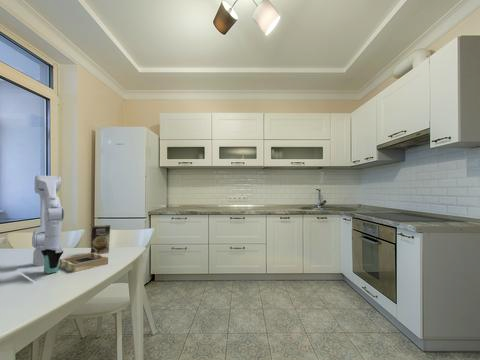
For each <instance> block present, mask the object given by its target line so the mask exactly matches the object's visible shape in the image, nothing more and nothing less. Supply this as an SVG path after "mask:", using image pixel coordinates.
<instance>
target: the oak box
mask: <svg viewBox="0 0 480 360" xmlns="http://www.w3.org/2000/svg"><path fill="white" fill-rule="evenodd" d="M89 256H90V257H93V258H95V259H97V260H92V261H88V262H83V263H79V264H73V263H70V260H75V259H80V258H85V257H89ZM107 265H109V257H108V256H106V255H103V254H96V253H91V252H90V253H83V254H81V255H75V256H69V257H65V258H60V259H59V268H61V269H64V270H66V271H69V272H71V273H74V274H75V273H77V272H81V271H86V270H89V269H94V268H98V267H102V266H107Z"/></svg>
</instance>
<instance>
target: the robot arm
mask: <svg viewBox="0 0 480 360" xmlns="http://www.w3.org/2000/svg"><path fill="white" fill-rule="evenodd" d="M61 184H62V178H61V176H60V175H39V174H37V175H36V176H35V177H34V193H35V194H37V195H39V198H40V208H39V209H40V210H39V211H40V213H39V214H40V216H39V217H40V219H39V221H40V223H39V224H40V225H39V226H40V227H38V228H36V229H35V230H33V232H32V238H31V246H32V248H35V249H34V250H33V254H32V255H33V256H32V257H33V258H32V263H30V266H35V267H44V259H45V255H47V256H48V258H49V264H50V268H51V269H52V268H56V267H57V265H58V262H59V259H61V257H62V255H63V254H64V250H63V247H62V227H63V221H64V217H65V209H64V207H63V206H62V205H61V200H60V199H61V198H60V197H59V196H57V193H58V192H59V191H60V188H61Z"/></svg>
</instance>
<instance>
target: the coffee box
mask: <svg viewBox="0 0 480 360" xmlns="http://www.w3.org/2000/svg"><path fill="white" fill-rule="evenodd" d="M110 234H111V224H110V225H109V224H108V225H107V224H105V225H93V226H92V228H91V244H90V253H96V254H99V255H103V254H110V239H111V238H110V237H111V235H110Z"/></svg>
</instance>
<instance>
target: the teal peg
mask: <svg viewBox="0 0 480 360" xmlns="http://www.w3.org/2000/svg"><path fill="white" fill-rule="evenodd" d="M59 268H60V267H59V262H58V265H57V267H56V268H52V269H51V268H50V264H49V258H48V256H47V255H45V259H44V266H43V273H46V274H52V273H57V272H59V270H60V269H59Z"/></svg>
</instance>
